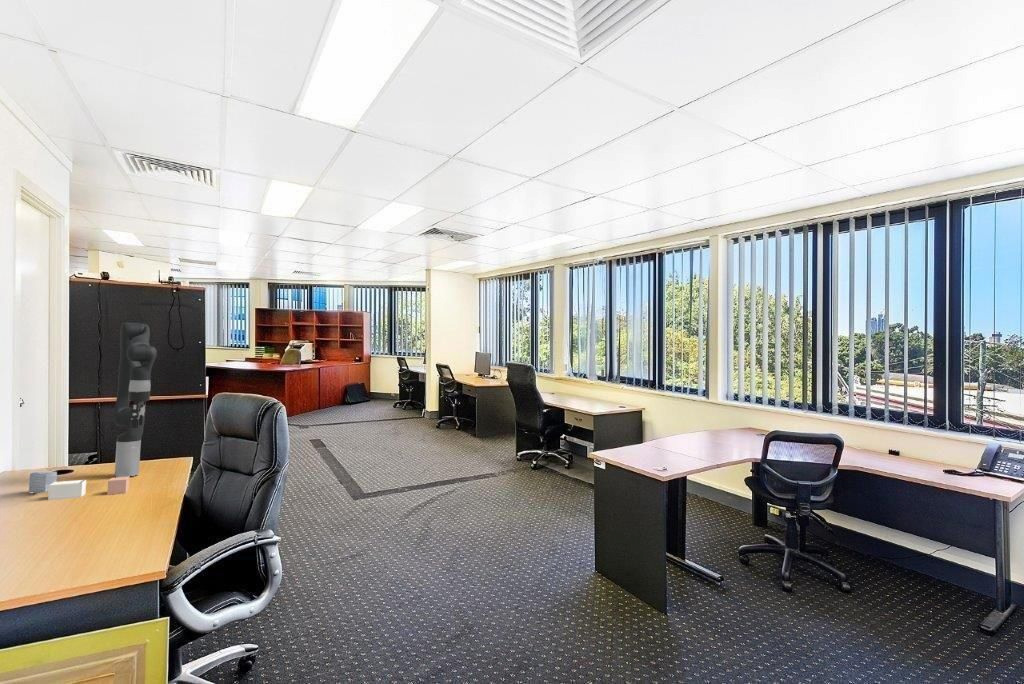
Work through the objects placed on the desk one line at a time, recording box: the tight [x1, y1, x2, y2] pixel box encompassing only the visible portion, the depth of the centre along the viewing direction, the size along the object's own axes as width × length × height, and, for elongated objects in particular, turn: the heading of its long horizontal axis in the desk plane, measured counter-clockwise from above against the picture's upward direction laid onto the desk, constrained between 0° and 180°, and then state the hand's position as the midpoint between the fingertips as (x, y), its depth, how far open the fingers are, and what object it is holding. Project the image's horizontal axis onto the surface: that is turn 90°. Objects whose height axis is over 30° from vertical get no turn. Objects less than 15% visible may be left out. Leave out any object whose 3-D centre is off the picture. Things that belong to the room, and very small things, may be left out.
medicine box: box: [28, 470, 58, 494], centre depth 195 cm, size 8×4×9 cm, turn 84°
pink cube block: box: [106, 477, 130, 496], centre depth 195 cm, size 5×6×6 cm
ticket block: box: [47, 479, 87, 501], centre depth 187 cm, size 5×10×6 cm, turn 119°
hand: (137, 426), depth 204 cm, fingers open, 8 cm apart
